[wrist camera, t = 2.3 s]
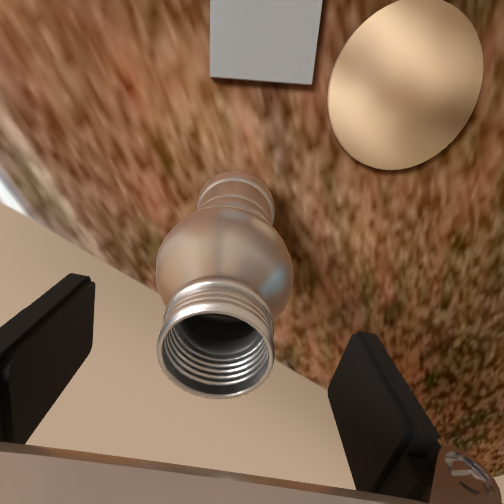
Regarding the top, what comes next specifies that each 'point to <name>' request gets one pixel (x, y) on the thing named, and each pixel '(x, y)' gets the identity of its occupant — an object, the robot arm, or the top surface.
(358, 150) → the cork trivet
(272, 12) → the slate coaster
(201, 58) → the top surface
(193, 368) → the silver metal bottle
